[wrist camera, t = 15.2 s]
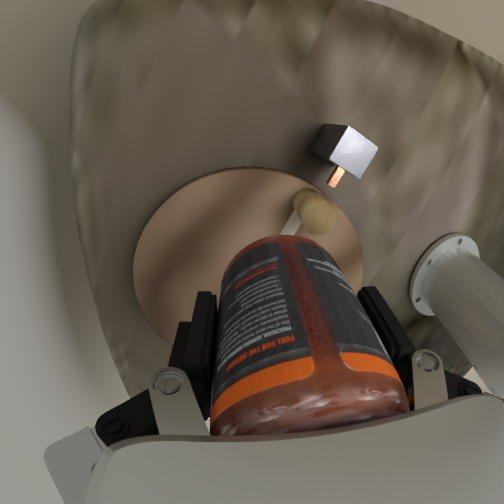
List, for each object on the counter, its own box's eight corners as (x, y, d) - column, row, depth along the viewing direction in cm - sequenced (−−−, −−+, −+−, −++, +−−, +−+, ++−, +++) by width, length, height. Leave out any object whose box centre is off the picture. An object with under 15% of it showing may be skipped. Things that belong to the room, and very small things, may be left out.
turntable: (395, 238, 29) (425, 266, 23) (283, 375, 38) (289, 411, 32) (194, 121, 23) (180, 123, 17) (116, 314, 32) (99, 350, 26)
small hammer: (350, 140, 25) (378, 147, 19) (326, 180, 26) (348, 197, 21) (325, 123, 24) (348, 125, 19) (300, 164, 26) (317, 177, 20)
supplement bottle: (203, 308, 15) (173, 534, 5) (252, 208, 12) (283, 511, 2) (300, 341, 16) (340, 532, 6) (359, 259, 14) (481, 464, 4)
